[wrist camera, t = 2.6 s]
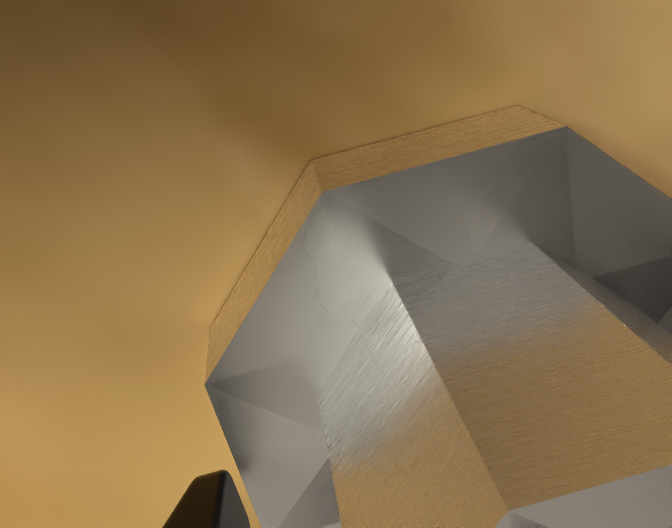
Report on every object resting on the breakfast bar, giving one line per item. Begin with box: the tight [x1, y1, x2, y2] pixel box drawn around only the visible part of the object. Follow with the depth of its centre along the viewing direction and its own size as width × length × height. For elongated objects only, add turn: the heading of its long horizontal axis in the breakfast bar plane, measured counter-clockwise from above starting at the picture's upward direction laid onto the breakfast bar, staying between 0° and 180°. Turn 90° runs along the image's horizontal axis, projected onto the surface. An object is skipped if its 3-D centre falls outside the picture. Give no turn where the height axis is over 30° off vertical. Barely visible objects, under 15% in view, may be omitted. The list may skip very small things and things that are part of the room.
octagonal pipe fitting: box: [204, 105, 672, 528], centre depth 7 cm, size 7×7×5 cm
